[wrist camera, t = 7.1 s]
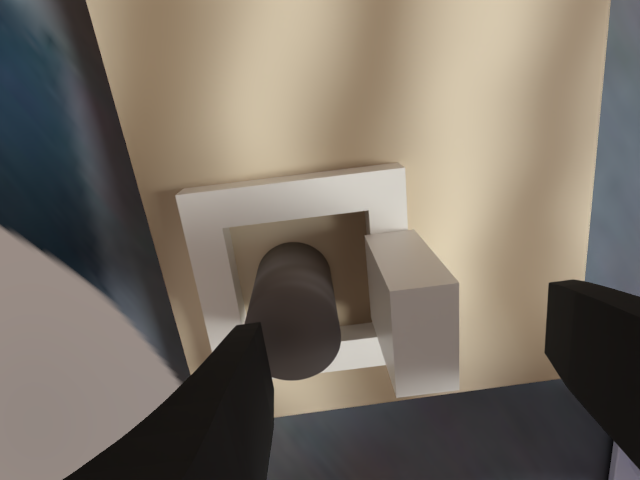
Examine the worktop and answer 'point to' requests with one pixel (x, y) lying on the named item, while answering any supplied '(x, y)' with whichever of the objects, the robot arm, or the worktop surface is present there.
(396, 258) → the collar
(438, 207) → the board
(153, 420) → the robot arm
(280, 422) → the worktop surface
